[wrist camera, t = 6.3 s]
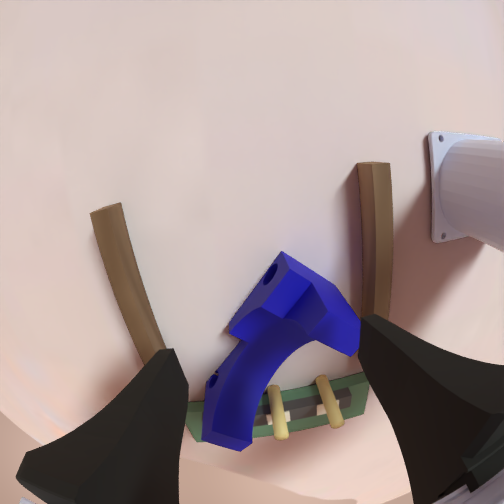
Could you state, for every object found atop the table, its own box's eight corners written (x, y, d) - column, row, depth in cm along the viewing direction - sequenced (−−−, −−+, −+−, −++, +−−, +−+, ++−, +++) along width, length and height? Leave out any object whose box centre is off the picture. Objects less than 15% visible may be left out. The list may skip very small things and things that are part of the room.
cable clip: (281, 250, 17) (302, 296, 11) (334, 284, 18) (370, 335, 12) (189, 372, 20) (180, 432, 14) (238, 393, 21) (240, 451, 15)
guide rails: (373, 161, 15) (389, 163, 14) (371, 354, 20) (380, 369, 18) (104, 206, 15) (89, 213, 13) (169, 388, 20) (165, 405, 18)
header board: (366, 363, 21) (389, 404, 16) (359, 405, 23) (376, 443, 18) (177, 395, 20) (169, 441, 16) (197, 432, 22) (194, 474, 18)
